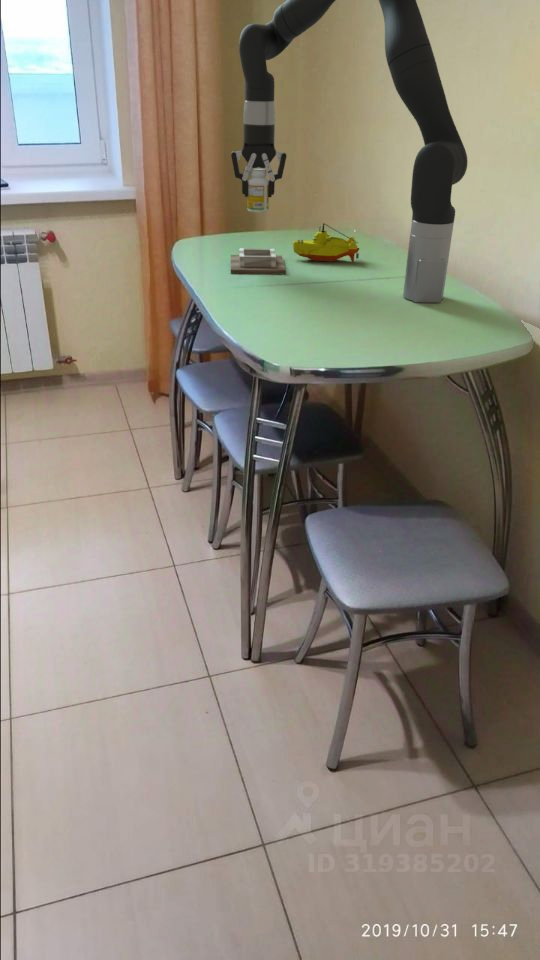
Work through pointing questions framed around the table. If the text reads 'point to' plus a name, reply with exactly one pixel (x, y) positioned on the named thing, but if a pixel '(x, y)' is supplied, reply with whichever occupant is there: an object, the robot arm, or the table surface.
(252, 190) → the supplement bottle
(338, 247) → the toy boat
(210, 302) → the table surface
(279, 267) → the jig board
